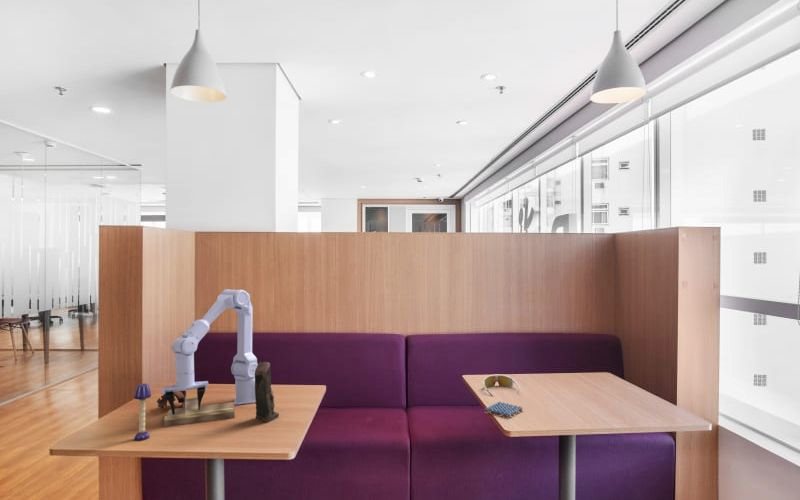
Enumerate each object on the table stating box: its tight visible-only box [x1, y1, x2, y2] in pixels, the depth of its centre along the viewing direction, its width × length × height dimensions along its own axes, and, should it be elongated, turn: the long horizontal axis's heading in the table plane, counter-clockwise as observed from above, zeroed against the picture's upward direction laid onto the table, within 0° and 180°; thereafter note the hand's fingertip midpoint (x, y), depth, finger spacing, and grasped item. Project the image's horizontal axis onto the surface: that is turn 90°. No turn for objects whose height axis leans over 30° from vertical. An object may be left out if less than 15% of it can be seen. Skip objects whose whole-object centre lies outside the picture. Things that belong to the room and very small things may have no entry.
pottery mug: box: [156, 390, 187, 410], centre depth 173 cm, size 12×10×8 cm
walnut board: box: [164, 401, 236, 427], centre depth 163 cm, size 22×12×4 cm, turn 110°
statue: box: [255, 361, 280, 423], centre depth 159 cm, size 7×7×20 cm
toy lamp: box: [133, 383, 152, 441], centre depth 144 cm, size 5×5×17 cm
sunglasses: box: [482, 374, 521, 397], centre depth 187 cm, size 14×15×5 cm
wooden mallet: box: [185, 397, 198, 414], centre depth 162 cm, size 4×10×5 cm, turn 26°
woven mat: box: [483, 401, 524, 420], centre depth 162 cm, size 10×11×2 cm
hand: (186, 411), depth 159 cm, fingers open, 7 cm apart
